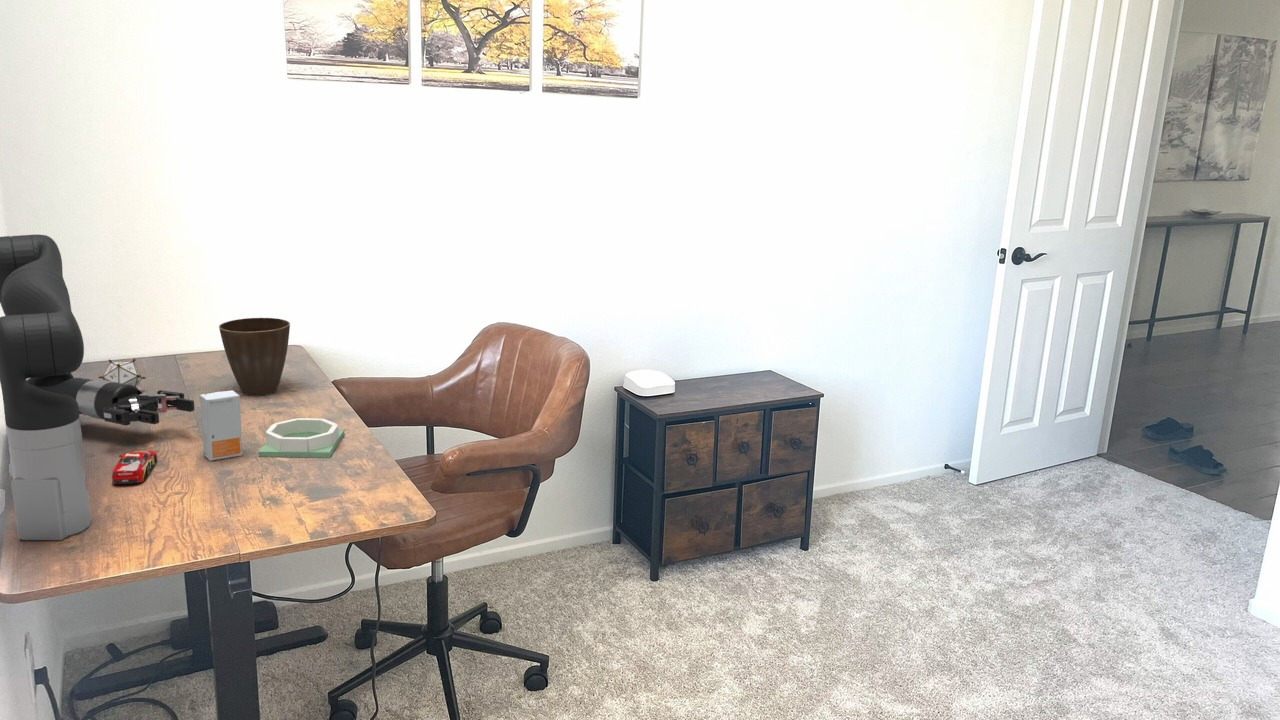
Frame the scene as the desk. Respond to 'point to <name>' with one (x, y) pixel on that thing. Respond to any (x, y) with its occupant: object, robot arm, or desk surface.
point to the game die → (122, 373)
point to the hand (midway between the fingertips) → (175, 412)
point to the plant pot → (256, 352)
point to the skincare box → (221, 425)
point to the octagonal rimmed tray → (302, 438)
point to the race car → (134, 467)
